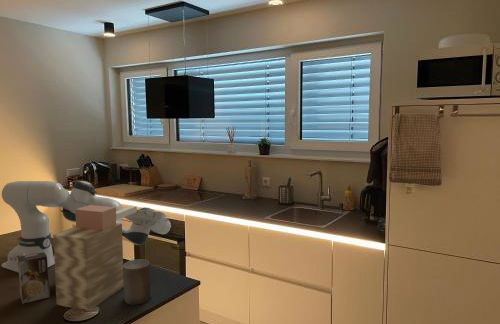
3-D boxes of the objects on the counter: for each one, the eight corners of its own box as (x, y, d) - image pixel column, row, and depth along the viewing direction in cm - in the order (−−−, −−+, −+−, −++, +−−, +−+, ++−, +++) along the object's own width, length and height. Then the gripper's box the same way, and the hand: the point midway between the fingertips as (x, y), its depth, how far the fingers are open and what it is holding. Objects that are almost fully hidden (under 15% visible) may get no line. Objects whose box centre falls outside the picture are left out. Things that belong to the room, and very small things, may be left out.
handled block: (76, 227, 142) (75, 209, 141) (122, 210, 169) (121, 195, 168) (102, 230, 138) (102, 212, 137) (145, 212, 165) (145, 197, 165)
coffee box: (47, 291, 146) (45, 251, 144) (50, 297, 141) (48, 256, 139) (19, 297, 141) (17, 256, 139) (21, 304, 136) (19, 261, 134)
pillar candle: (156, 296, 143) (155, 258, 141) (138, 307, 134) (137, 266, 133) (136, 291, 147) (135, 254, 146) (118, 301, 138) (116, 262, 137)
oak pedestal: (56, 304, 135) (53, 234, 133) (94, 282, 154) (92, 220, 152) (88, 310, 131) (86, 238, 129) (123, 286, 150) (121, 223, 148)
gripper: (168, 227, 176) (155, 219, 164) (131, 223, 182) (115, 215, 170) (172, 214, 178) (158, 205, 166) (134, 211, 184) (119, 202, 172)
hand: (136, 210), depth 168 cm, fingers open, 8 cm apart
